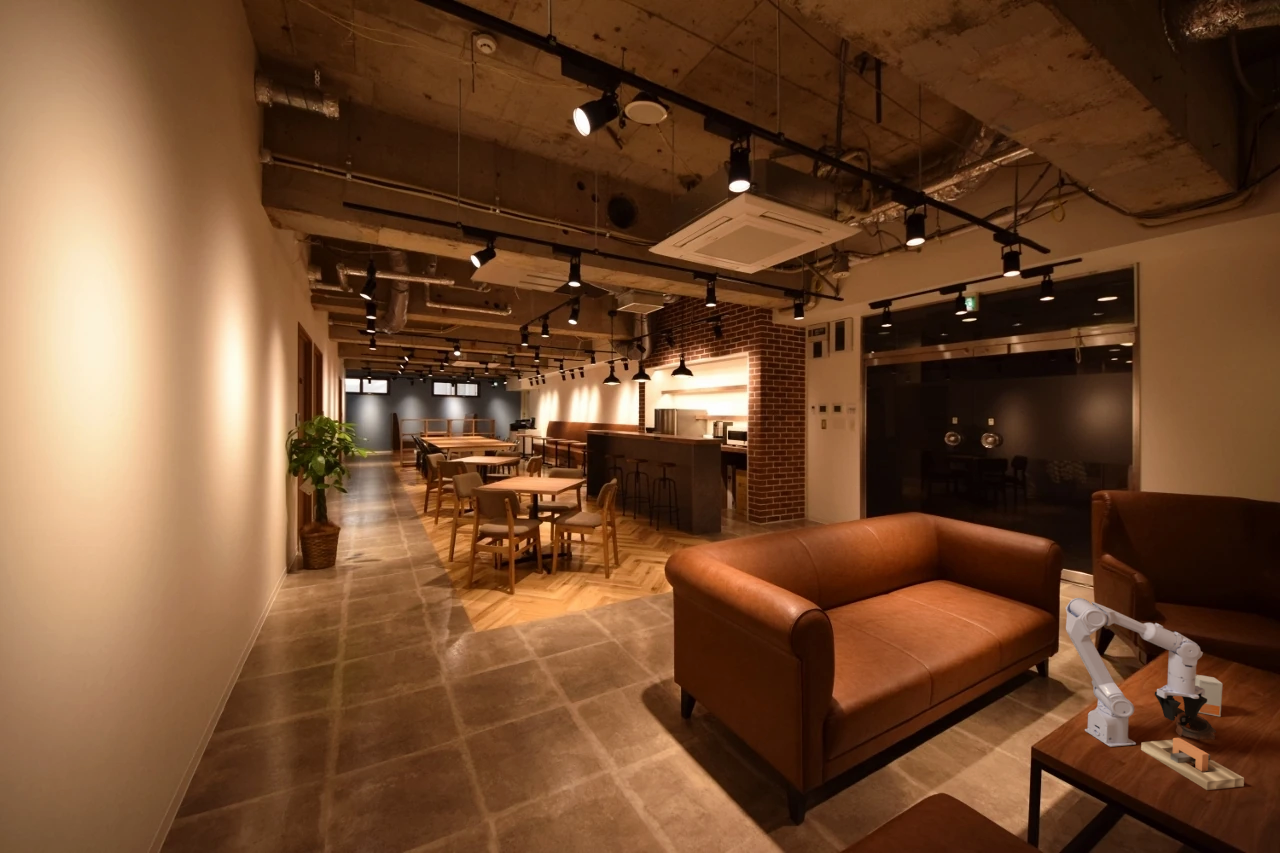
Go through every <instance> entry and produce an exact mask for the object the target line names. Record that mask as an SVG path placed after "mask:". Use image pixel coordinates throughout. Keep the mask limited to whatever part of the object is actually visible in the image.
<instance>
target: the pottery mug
mask: <svg viewBox="0 0 1280 853" xmlns="http://www.w3.org/2000/svg"><path fill="white" fill-rule="evenodd" d="M1175 725H1176V729H1175V731H1176V733H1177V735H1178V736H1179V737H1182V736H1183V737H1187V738H1191V739H1195V740H1206V739H1207V740H1208V739H1211V740H1214V741H1215V739H1216V734H1215V733H1217V731H1216V729H1215V728H1214V727H1213V726H1212V724H1211V723H1210V722H1209V720H1206V719H1205V718H1204V717H1203V716H1201V715H1200V714H1197V717H1196V718H1195V719H1192V718H1190V717H1188V716H1186V715H1185V710H1183V709H1181V708H1180V707H1178V708H1177V711H1176V716H1175ZM1187 725H1189V728H1188V726H1187ZM1186 726H1187V727H1186Z"/></svg>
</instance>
